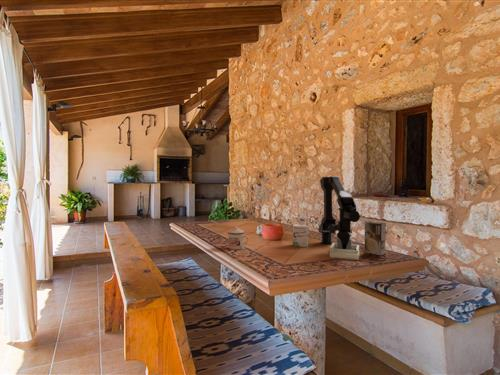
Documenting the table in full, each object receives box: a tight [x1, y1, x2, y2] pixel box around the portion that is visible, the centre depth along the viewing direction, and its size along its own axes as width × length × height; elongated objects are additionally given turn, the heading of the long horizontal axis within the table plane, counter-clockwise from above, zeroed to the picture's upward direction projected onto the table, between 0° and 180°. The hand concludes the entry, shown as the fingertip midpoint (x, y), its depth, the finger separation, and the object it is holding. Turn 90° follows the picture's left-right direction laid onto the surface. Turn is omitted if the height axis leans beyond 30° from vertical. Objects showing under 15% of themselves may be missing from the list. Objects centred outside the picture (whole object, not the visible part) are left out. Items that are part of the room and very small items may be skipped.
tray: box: [329, 248, 361, 261], centre depth 159 cm, size 10×14×2 cm
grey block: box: [336, 237, 353, 250], centre depth 169 cm, size 5×7×7 cm
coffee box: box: [364, 221, 387, 256], centre depth 167 cm, size 9×6×16 cm
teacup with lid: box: [227, 226, 250, 250], centre depth 175 cm, size 12×9×12 cm
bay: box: [329, 242, 360, 252], centre depth 171 cm, size 14×14×2 cm
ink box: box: [292, 223, 309, 248], centre depth 183 cm, size 8×5×12 cm, turn 76°
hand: (344, 248), depth 169 cm, fingers closed on grey block, 5 cm apart
